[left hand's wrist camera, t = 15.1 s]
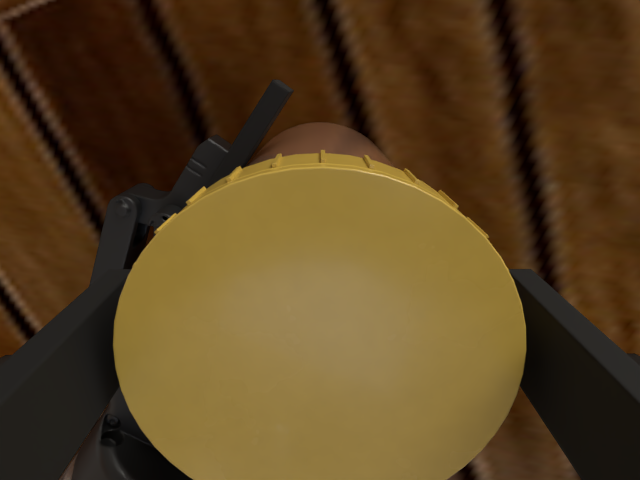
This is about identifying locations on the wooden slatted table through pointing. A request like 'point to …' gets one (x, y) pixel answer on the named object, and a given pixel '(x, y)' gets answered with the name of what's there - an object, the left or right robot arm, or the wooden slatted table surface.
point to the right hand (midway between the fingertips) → (381, 156)
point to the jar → (319, 143)
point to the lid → (319, 327)
